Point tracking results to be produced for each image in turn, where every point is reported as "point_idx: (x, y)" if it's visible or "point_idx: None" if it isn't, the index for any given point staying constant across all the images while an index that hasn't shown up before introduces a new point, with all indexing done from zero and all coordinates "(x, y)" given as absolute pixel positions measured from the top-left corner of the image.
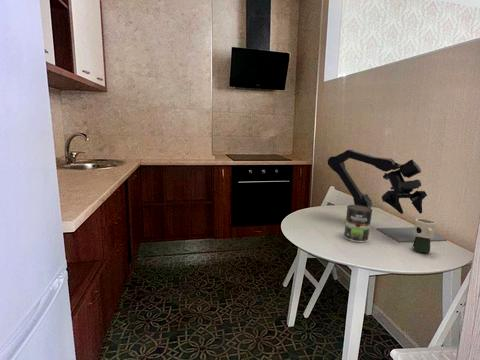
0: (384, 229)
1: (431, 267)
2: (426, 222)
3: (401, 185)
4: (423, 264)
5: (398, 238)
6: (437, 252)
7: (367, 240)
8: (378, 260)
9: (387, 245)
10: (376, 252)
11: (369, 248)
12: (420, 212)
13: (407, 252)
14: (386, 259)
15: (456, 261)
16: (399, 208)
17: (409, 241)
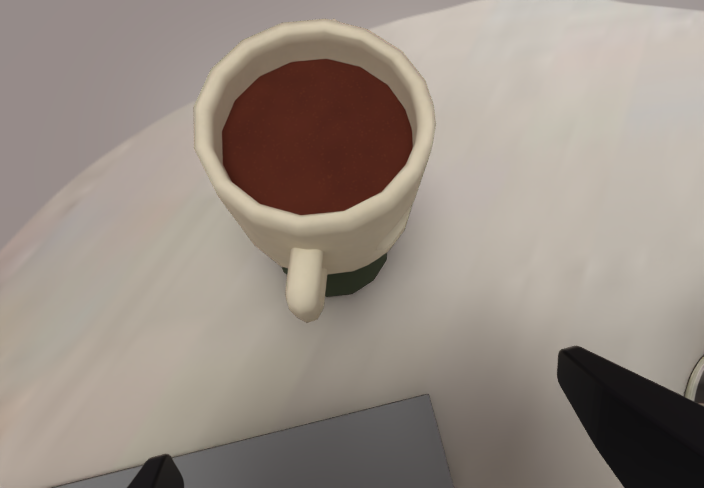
0: None
1: (393, 37)
2: (265, 195)
3: None
4: (420, 62)
5: (410, 461)
6: (221, 239)
7: (697, 373)
8: (666, 73)
9: (546, 309)
10: (657, 175)
11: (694, 231)
12: (173, 477)
13: (442, 206)
14: (615, 91)
15: (189, 124)
16: (675, 408)
17: (330, 418)
